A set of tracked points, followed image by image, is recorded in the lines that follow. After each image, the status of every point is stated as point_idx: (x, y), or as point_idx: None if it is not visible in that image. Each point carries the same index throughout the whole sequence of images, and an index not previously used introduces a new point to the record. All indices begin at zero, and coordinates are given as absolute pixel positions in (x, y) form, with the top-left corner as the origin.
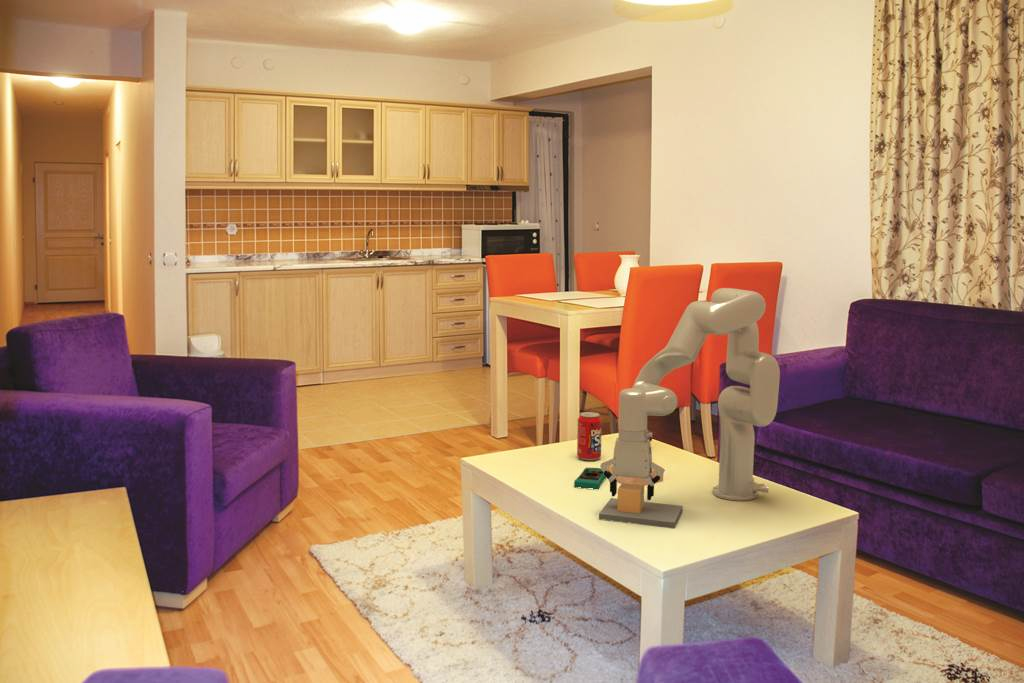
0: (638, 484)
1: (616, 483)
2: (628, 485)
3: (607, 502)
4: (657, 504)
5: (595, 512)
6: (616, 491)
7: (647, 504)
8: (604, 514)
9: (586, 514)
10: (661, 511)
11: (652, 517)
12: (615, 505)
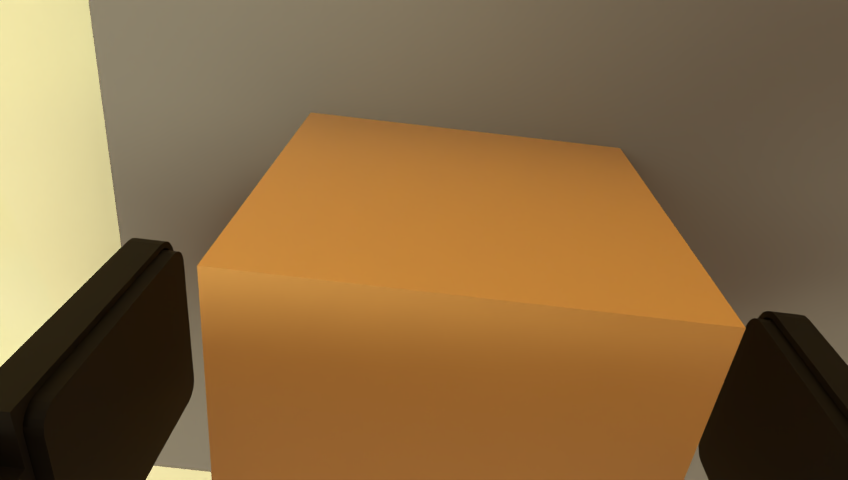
0: (597, 320)
1: (90, 387)
2: (371, 419)
3: (102, 101)
4: (845, 11)
5: (72, 264)
6: (168, 276)
7: (681, 53)
8: (207, 469)
9: (15, 334)
10: (837, 289)
11: (694, 469)
12: (241, 199)
